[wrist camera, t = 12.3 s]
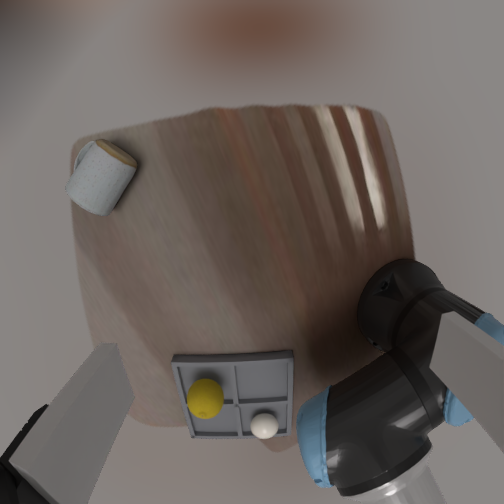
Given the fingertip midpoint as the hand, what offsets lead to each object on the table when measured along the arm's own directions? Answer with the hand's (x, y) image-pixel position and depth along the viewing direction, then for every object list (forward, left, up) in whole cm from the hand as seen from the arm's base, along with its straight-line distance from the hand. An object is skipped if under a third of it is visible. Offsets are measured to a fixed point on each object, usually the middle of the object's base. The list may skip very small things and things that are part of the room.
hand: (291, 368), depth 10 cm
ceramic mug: (+21, -11, -29) cm, 37 cm away
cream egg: (0, +31, -28) cm, 42 cm away
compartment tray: (+5, +27, -29) cm, 40 cm away
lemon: (+9, +22, -28) cm, 37 cm away
